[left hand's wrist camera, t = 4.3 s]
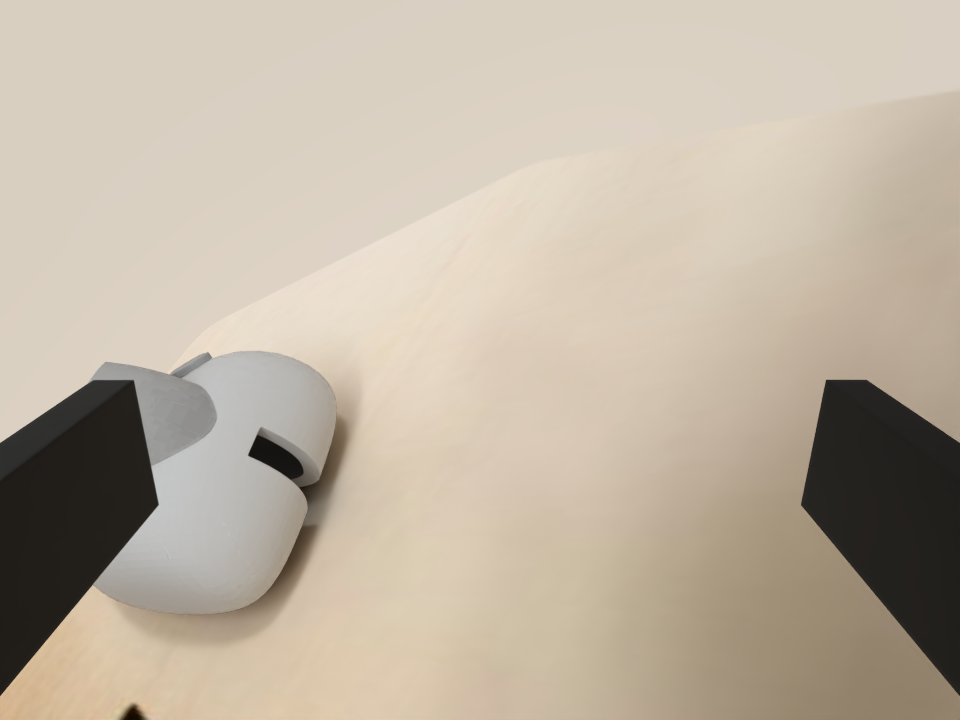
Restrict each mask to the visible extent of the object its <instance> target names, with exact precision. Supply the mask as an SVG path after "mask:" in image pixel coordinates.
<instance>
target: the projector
mask: <svg viewBox="0 0 960 720" xmlns="http://www.w3.org/2000/svg"><path fill="white" fill-rule="evenodd" d="M211 358H212V357H211V355H210V354H209V353H208V352H207V353H203V354H201V355H199V356H197V357H195V358H194V359H192V360H190V361H188V362H187V363H185V364H183V365H182V366H180V367H179V368H177V369H175V370H174V371H173V372H172V373H171V374H170V375H169V374H165V373H162V372H158V371H154V370H150V369H146V368H141V367H137V366H132V365H126V364H118V363H110V362H105V363H104V364H103V365H102V366H101V367H100V368H99V369H98V370H97V372H96V373H95V374H94V376H93V377H92V378H91V380H90V381H89V382H88V383H90V382H91V381H93V380H134V383H135V388H136V393H137V398H138V403H139V408H140V413H141V418H142V423H143V428H144V433H145V438H146V443H147V448H148V453H149V458H150V463H151V468H152V473H153V478H154V483H155V488H156V493H157V498H158V503H159V505H158V507H157V508H156V509H155V510H154V511H153V513H152V514H151V515H150V516H149V518H148V519H147V520H146V521H145V522H144V524H143V525H142V526H141V527H140V528H139V530H138V531H137V532H136V533H135V534H134V536H133V537H132V538H131V539H130V540H129V542H128V543H127V544H126V545H125V546H124V548H123V549H122V550H121V551H120V552H119V554H118V555H117V556H116V557H115V558H114V560H113V561H112V562H111V563H110V564H109V566H108V567H107V568H106V569H105V570H104V572H103V573H102V574H101V575H100V576H99V578H98V579H97V580H96V581H95V583H94V584H93V585H94V586H95V587H96V588H97V589H98V590H100V591H101V592H102V593H104V594H105V595H107V596H109V597H111V598H113V599H115V600H117V601H119V602H122V603H124V604H127V605H130V606H133V607H137V608H141V609H145V610H150V611H156V612H163V613H172V614H195V615H201V614H217V613H224V612H230V611H234V610H237V609H241V608H244V607H246V606H248V605H250V604H252V603H253V602H255V601H256V600H258V599H259V598H260V597H261V596H262V595H264V594H265V593H266V592H267V591H268V589H269V588H270V587H271V586H272V584H273V583H274V582H275V580H276V579H277V577H278V575H279V574H280V572H281V571H282V569H283V567H284V565H285V563H286V561H287V559H288V557H289V555H290V553H291V551H292V548H293V546H294V544H295V541H296V539H297V537H298V534H299V532H300V529H301V527H302V524H303V522H304V519H305V516H306V514H307V511H308V505H307V500H306V498H305V496H304V494H303V492H302V491H301V490H300V488H299V487H304V486H308V485H311V484H314V483H316V482H317V481H318V480H319V478H320V476H321V473H322V470H323V467H324V464H325V461H326V458H327V455H328V452H329V449H330V446H331V442H332V438H333V434H334V430H335V424H336V415H337V407H336V400H335V396H334V393H333V390H332V388H331V386H330V385H329V383H328V382H327V380H326V379H325V378H324V377H323V376H322V375H321V374H320V373H318V372H317V371H316V370H314V369H313V368H312V367H310V366H308V365H306V364H304V363H303V362H301V361H298V360H296V359H294V358H291V357H288V356H284V355H281V354H277V353H271V352H263V351H240V352H234V353H230V354H225V355H221V356H218V357H216V358H213V359H211ZM210 359H211V360H210Z"/></svg>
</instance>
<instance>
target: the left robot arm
mask: <svg viewBox="0 0 960 720" xmlns="http://www.w3.org/2000/svg"><path fill="white" fill-rule="evenodd" d="M158 505H159V503H158V498H157V493H156V488H155V483H154V478H153V473H152V468H151V463H150V458H149V453H148V448H147V443H146V438H145V433H144V428H143V423H142V418H141V413H140V408H139V403H138V398H137V393H136V388H135V383H134V380H93V381H91V382H90V383H88V384H87V385H85V386H84V387H82V388H81V389H79V390H78V391H76V392H75V393H73V394H72V395H71V396H69V397H68V398H66V399H65V400H63V401H62V402H60V403H59V404H57V405H56V406H54V407H53V408H51V409H50V410H48V411H47V412H45V413H44V414H42V415H41V416H40V417H38V418H37V419H35V420H34V421H32V422H31V423H29V424H28V425H26V426H25V427H23V428H22V429H20V430H19V431H17V432H16V433H14V434H13V435H11V436H10V437H9V438H7V439H5V440H4V441H3V442H1V443H0V696H1V694H2V693H3V692H4V691H5V690H6V688H7V687H8V686H9V685H10V684H11V682H12V681H13V680H14V679H15V678H16V676H17V675H18V674H19V673H20V672H21V670H22V669H23V668H24V667H25V666H26V664H27V663H28V662H29V661H30V660H31V658H32V657H33V656H34V655H35V654H36V652H37V651H38V650H39V649H40V648H41V646H42V645H43V644H44V643H45V641H46V640H47V639H48V638H49V637H50V635H51V634H52V633H53V632H54V631H55V629H56V628H57V627H58V626H59V625H60V623H61V622H62V621H63V620H64V619H65V617H66V616H67V615H68V614H69V613H70V611H71V610H72V609H73V608H74V607H75V605H76V604H77V603H78V602H79V601H80V599H81V598H82V597H83V596H84V595H85V593H86V592H87V591H88V590H89V589H90V587H91V586H92V585H93V584H94V583H95V581H96V580H97V579H98V578H99V576H100V575H101V574H102V573H103V572H104V570H105V569H106V568H107V567H108V566H109V564H110V563H111V562H112V561H113V560H114V558H115V557H116V556H117V555H118V554H119V552H120V551H121V550H122V549H123V548H124V546H125V545H126V544H127V543H128V542H129V540H130V539H131V538H132V537H133V536H134V534H135V533H136V532H137V531H138V530H139V528H140V527H141V526H142V525H143V524H144V522H145V521H146V520H147V519H148V518H149V516H150V515H151V514H152V513H153V511H154V510H155V509H156V508H157V507H158ZM801 505H802V507H803V508H804V509H805V510H806V512H807V513H808V514H809V515H810V516H811V518H812V519H813V520H814V521H815V522H816V524H817V525H818V526H819V527H820V528H821V530H822V531H823V532H824V533H825V534H826V536H827V537H828V538H829V539H830V540H831V542H832V543H833V544H834V545H835V546H836V548H837V549H838V550H839V551H840V552H841V554H842V555H843V556H844V557H845V558H846V560H847V561H848V562H849V563H850V564H851V566H852V567H853V568H854V569H855V570H856V572H857V573H858V574H859V575H860V576H861V578H862V579H863V580H864V581H865V583H866V584H867V585H868V586H869V587H870V589H871V590H872V591H873V592H874V593H875V595H876V596H877V597H878V598H879V599H880V601H881V602H882V603H883V604H884V605H885V607H886V608H887V609H888V610H889V611H890V613H891V614H892V615H893V616H894V617H895V619H896V620H897V621H898V622H899V623H900V625H901V626H902V627H903V628H904V629H905V631H906V632H907V633H908V634H909V635H910V637H911V638H912V639H913V640H914V641H915V643H916V644H917V645H918V646H919V648H920V649H921V650H922V651H923V652H924V654H925V655H926V656H927V657H928V658H929V660H930V661H931V662H932V663H933V664H934V666H935V667H936V668H937V669H938V670H939V672H940V673H941V674H942V675H943V676H944V678H945V679H946V680H947V681H948V682H949V684H950V685H951V686H952V687H953V688H954V690H955V691H956V692H957V693H958V694H959V696H960V443H959V442H957V441H956V440H955V439H953V438H952V437H950V436H949V435H947V434H946V433H944V432H943V431H941V430H940V429H938V428H937V427H935V426H934V425H932V424H931V423H929V422H928V421H926V420H925V419H923V418H922V417H921V416H919V415H918V414H916V413H915V412H913V411H912V410H910V409H909V408H907V407H906V406H904V405H903V404H901V403H900V402H898V401H897V400H895V399H894V398H892V397H891V396H889V395H888V394H887V393H885V392H884V391H882V390H881V389H879V388H878V387H876V386H875V385H873V384H872V383H870V382H869V381H867V380H826V383H825V388H824V393H823V398H822V403H821V408H820V413H819V418H818V423H817V428H816V433H815V438H814V443H813V448H812V453H811V458H810V463H809V468H808V473H807V478H806V483H805V488H804V493H803V498H802V503H801Z"/></svg>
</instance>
